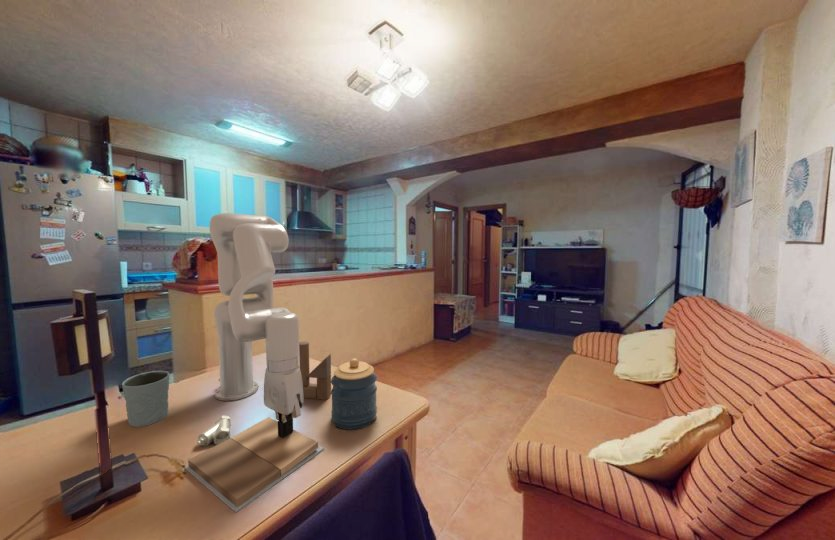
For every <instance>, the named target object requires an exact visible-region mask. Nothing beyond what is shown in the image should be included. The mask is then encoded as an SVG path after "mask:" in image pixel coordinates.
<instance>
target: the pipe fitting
mask: <svg viewBox="0 0 835 540" xmlns="http://www.w3.org/2000/svg"><path fill="white" fill-rule="evenodd" d="M230 426H232V425H231V417H230V416H228V415H220V416H219V417H217V419H215V420H214V424H213V425H211V426H210V427H209V428H208V429H206V430H205V431H203V432H201V433H200V434H199V435H198V437H197V438H198V440H197V445H198V446H206V447H207V446H209V445H210V444H211V443H214V445H218V444H220V443H222V442H224V441H226V440H228V439H230V438H231V432H230V429H231V427H230Z"/></svg>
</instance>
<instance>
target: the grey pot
mask: <svg viewBox="0 0 835 540" xmlns="http://www.w3.org/2000/svg"><path fill="white" fill-rule="evenodd" d="M170 374H171V373H170V372H169V371H166V370H152V371H148V372H147V371H146V372H141V373H139V374H136V375H133V376H130V377H128V378H126V379H125V380H123V382H122V383H121V386H122V393H123V395H124V400H125V407H126V416H127V423H128V426H130V427H145V426H149V425H151V424H154V423H157V422H159V421H161V420H163V419H165V418H166V417H167V416H168V414H169V389H170Z"/></svg>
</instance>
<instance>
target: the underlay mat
mask: <svg viewBox="0 0 835 540" xmlns="http://www.w3.org/2000/svg"><path fill="white" fill-rule="evenodd" d="M324 450H325V448H324V447H323V446H321V445H319V444H318V449H316V450H315V451H314V452H312V453H311V454H310V455H308V456H307V457H306V458H304V459H303V460H302V461H301V462H299V463H298V464H297V465H295V466H294V467H293V468H291V469H290V470H289V471H287V472H286V473H285V474H283V475H282V476H280V478H278V479H277V480H275V481H274V482H272V483H271V484H270V485H268V486H267V487H265V488H264V489H263V490H261V491H260V492H258V493H257V494H255V495H254V496H253V497H251V498H250V499H248V500H247V501H246V502H244V503H243V504H241V505H240V506H238V507H236V506H235V505H234V504H233V503H232V502H230V501H229V500H228V499H227V498H226V497H224V496H223V495H222V494H221V493H220V492H218V491H217V490H216V489H215V488H214V487H212V486H211V485H210V484H209V483H208V482H206V481H205V480H204V479H203V478H202V477H200V476H199V475H198V474H197V473H196V472H194V471H193V470H192V469H191V468H190V467H189V466H188V465H186V466H184V469H185V470H186V471H187V472H188V473H190V475H192V476H193V477H194V478H195V479H196V480H197V481H199V482H200V483H201V484H202V485H203V486H205V487H206V488H207V489H208V490H209V491H210V492H211V493H212V494H214V495H215V496H216V497H217V498H219V500H221V501H222V502H223V503H224V504H226V505H227V506H228V507H229V508H231V510H232V511H234V512H235V513H238V512H239V511H241V510H242V509H243V508H245V507H246V506H248V504H250V503H252V502H253V501H254V500H256V499H257V498H258V497H260V496H261V495H263V494H264V493H265V492H267V491H268V490H270V489H271V488H272V487H274V486H276V485H277V484H278V483H279V482H280V481H282V480H284V479H285V478H286V477H288V476H289V475H290V474H292V473H293V472H295V471H296V470H297V469H299V468H300V467H301V466H303V465H304V464H306V463H307V462H308V461H310V460H311V459H312V458H315V456H317V455H319V453H321V452H323V451H324Z"/></svg>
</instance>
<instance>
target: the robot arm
mask: <svg viewBox="0 0 835 540" xmlns="http://www.w3.org/2000/svg"><path fill="white" fill-rule="evenodd" d="M208 228H209V233H210V234H209V235H210V237H211V240H212V242H213V245H214V248H215V250H216V253H217V255H216V256H217V269H218V270H217V276H218V277H217V279H218V288H219V291H220V294H222V295H223V296H227V297H229V298H228V300H223V301H220V302H219V303H218V304H217V305H216V306H215V307H214V309H213V318H214V322H215V327H216V332H217V339H218V361H219V379H218V382H219V388H218V389H217V390H215V393H214V397H215V399H217V400H219V401H225V402H226V401H236V400H241V399H244V398H247V397H249V396H252V395H253V394H255V393H256V392H257V391H258V389H259V383H257V381H254V374H253V373H254V372H253V371H254V369H253V367H254V365H253V346H252V345H253V344H252V343H253V342H255V341H259V340H265V355H266V357H265V358H266V359H265V360H266V361H265V362H266V368H265V372H264V381H263V404H264V406H265V407H266V408H268V409H270V410H273V411H274V412H275V413H274V414H275V419H276V421H277V422H278V436H280V437H282V438H284V437H286V436H287V435H289V434H291V433H292V432H293V430H294V418H295V419H297V418H298V417H300V416H301V415H302V412H301V408H303V406H304V400H305V398H304V396H303V383H302V376H301V371H300V369H299V368H300V353H299V342H300V327H299V326H300V324H299V323H300V322H299V317H298V315H297V314H296V313H293V312H291V311H290V310H289V309H288V308H286V307H274V279H273V278H274V276H275V273H276V267H275V264H274V261H273V256H272V253H283V252H285V251H286V250H287V249H288V247H289V242H290V240H289V235H288V232H287V230H286V228H285V227H284V226H283V225H282V224H281V223H279V222H278V221H277V220H275V219H273V218H272V217H270V216H267V215H258V214H245V213H233V212H232V213H231V212H230V213H229V212H226V213H225V212H223V213H217V214H214V215H213V216H212V217H210V220H209V227H208ZM246 295H256V296H254V297H246V298H244V296H246Z"/></svg>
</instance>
